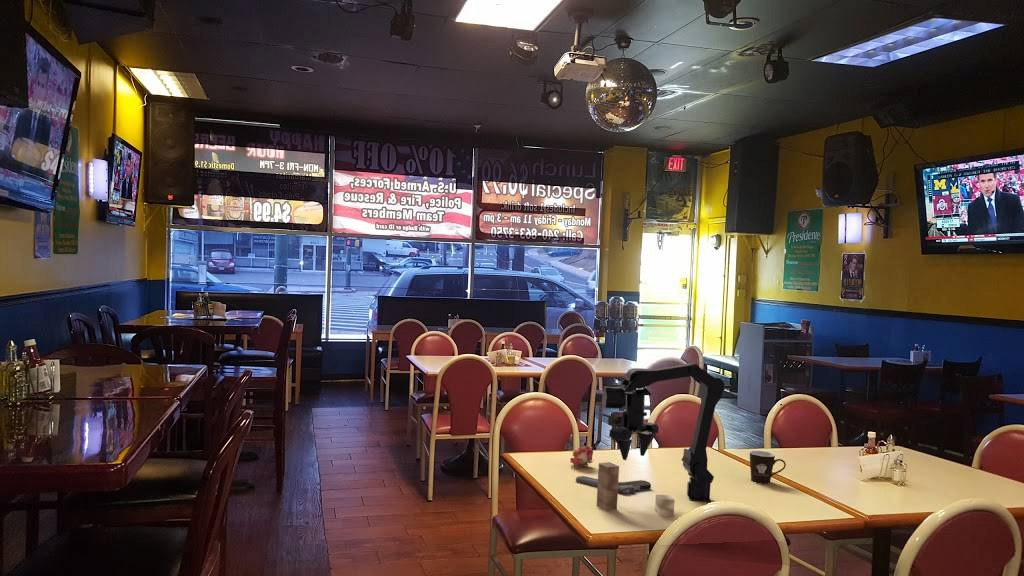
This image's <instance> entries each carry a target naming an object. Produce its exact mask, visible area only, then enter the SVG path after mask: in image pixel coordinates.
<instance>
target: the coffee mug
mask: <svg viewBox="0 0 1024 576" xmlns="http://www.w3.org/2000/svg"><path fill="white" fill-rule="evenodd" d="M775 458H776V455H775V453H772V452H769V451H763V450H750V451H749V465H750V469H749V470H750V481H751V482H752V481H753V483H754V482H756V483H755V484H758V483H761V484H760V485H769V484H768V483H770V484H771V479H772V477H773V476H774V475H776V474H778V473H780V472H782V471H783V470H784V469H785V468H786V466H787V465H786V461H784V460H783V459H781V458H777V459H775ZM778 461H779V462H782V463H783V464H784V465H783V467H782V468H781V469H779V470H777V471H775V472H773V469H774V465H775V464H776V463H777V462H778Z"/></svg>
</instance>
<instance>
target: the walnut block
mask: <svg viewBox="0 0 1024 576" xmlns="http://www.w3.org/2000/svg"><path fill="white" fill-rule="evenodd" d="M597 470H598V473H597V479H598V487H596V488H597V489H596V490H597V492H596V506H597V507H598V508H599V509H601V510H603V511H606V512H607V511H616V510H618V509H617V508H618V495H619V494H618V493H619V492H618V482H619V475H620V465H617V464H615V463H613V462H610V461H609V462H607V461H606V462H599V463H598V469H597Z"/></svg>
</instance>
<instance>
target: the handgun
mask: <svg viewBox="0 0 1024 576" xmlns="http://www.w3.org/2000/svg"><path fill="white" fill-rule="evenodd" d="M575 482H577V483H579V482H580V484H583V483H584V485H587V484H588V485H587V486H591V485H592V487H595V486H596V487H595V488H598V478H594V477H590V476H586V475H585V476H584V475H580V476H579V475H578V476H576V478H575ZM647 489H648V490H651V489H652V484H651V482H649V481H647V480H644V479H643V480H642V479H640V480H632V481H631V480H630V481H618V493H620V494H623V495H627V494H634V493H635V492H636V490H637V491H645V490H646V491H647Z"/></svg>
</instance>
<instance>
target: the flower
mask: <svg viewBox="0 0 1024 576" xmlns="http://www.w3.org/2000/svg"><path fill="white" fill-rule="evenodd" d="M593 454H594V449H593V446H592V447H590V446H588V445H583V446H582V447H579V448H577V449H574V451H572V457H570V461H569V462H570V463H572V465H573V466H574V465H575V466H574V467H582V466H585V467H586V469H589V468H590V466H589V464H592V463H593V462H594V460H593Z"/></svg>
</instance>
